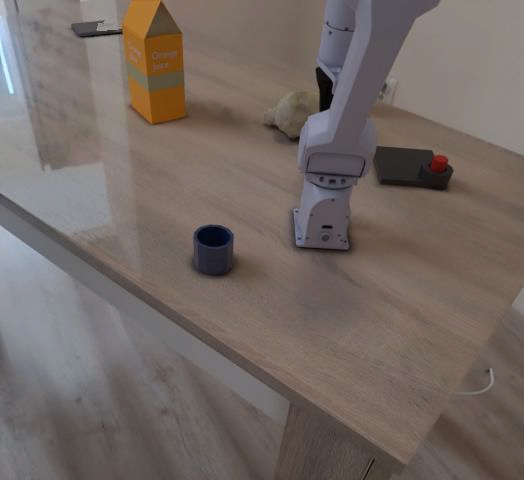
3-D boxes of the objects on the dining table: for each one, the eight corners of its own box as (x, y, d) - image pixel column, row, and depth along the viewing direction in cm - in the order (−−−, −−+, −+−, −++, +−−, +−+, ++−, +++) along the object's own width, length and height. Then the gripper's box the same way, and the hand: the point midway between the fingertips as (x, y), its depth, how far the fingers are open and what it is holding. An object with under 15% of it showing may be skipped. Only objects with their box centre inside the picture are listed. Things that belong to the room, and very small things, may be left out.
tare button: (445, 173, 84) (450, 162, 82) (431, 172, 84) (435, 161, 82) (442, 166, 86) (446, 155, 84) (428, 164, 86) (432, 154, 84)
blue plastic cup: (232, 276, 66) (233, 250, 63) (192, 273, 66) (191, 247, 62) (233, 251, 70) (234, 225, 66) (196, 249, 69) (195, 223, 66)
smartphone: (69, 23, 122) (126, 17, 127) (70, 27, 123) (127, 22, 128) (78, 33, 118) (136, 27, 123) (79, 37, 119) (137, 31, 124)
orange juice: (151, 124, 93) (139, 1, 77) (131, 106, 97) (115, -15, 82) (186, 116, 96) (181, -4, 81) (165, 99, 100) (156, -18, 85)
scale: (450, 192, 85) (456, 176, 83) (380, 187, 84) (385, 171, 82) (433, 156, 93) (439, 141, 91) (369, 151, 93) (373, 136, 90)
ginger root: (257, 151, 93) (319, 119, 83) (248, 112, 92) (309, 75, 82) (303, 151, 104) (362, 123, 94) (294, 116, 103) (354, 85, 93)
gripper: (380, 47, 61) (355, 147, 72) (367, 7, 70) (346, 101, 81) (325, 42, 61) (309, 143, 72) (319, 2, 70) (305, 97, 80)
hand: (326, 120), depth 76 cm, fingers closed
